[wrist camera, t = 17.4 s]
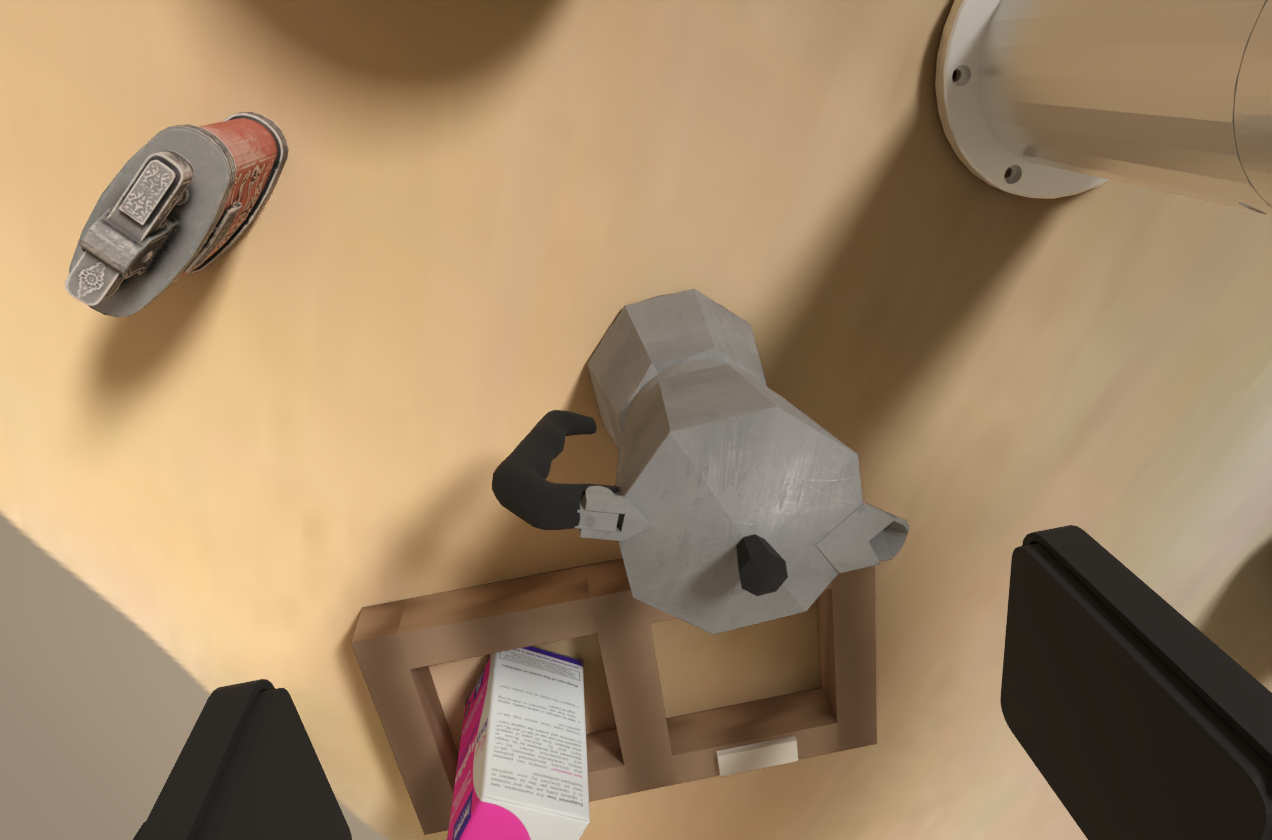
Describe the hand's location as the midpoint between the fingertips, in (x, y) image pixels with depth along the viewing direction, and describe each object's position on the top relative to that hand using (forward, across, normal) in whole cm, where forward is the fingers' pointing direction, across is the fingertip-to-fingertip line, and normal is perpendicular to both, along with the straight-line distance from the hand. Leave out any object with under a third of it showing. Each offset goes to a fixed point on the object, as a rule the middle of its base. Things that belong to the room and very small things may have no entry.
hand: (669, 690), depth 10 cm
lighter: (+31, +15, -4) cm, 34 cm away
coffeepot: (+31, -3, +8) cm, 32 cm away
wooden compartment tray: (+30, +1, +27) cm, 41 cm away
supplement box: (+31, +8, +27) cm, 41 cm away
